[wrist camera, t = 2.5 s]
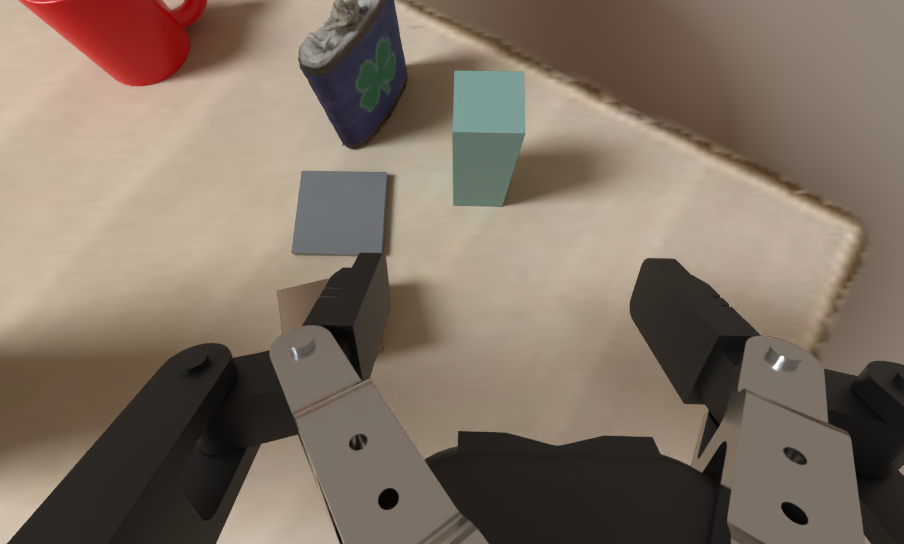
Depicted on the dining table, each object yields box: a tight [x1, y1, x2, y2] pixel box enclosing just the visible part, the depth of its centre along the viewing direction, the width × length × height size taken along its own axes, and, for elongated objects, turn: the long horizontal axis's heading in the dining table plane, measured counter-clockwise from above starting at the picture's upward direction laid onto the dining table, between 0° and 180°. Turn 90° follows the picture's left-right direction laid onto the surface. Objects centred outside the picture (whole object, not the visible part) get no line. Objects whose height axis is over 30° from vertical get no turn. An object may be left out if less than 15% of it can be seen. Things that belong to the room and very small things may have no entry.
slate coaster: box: [292, 171, 388, 256], centre depth 30 cm, size 7×7×1 cm
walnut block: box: [277, 278, 383, 352], centre depth 25 cm, size 5×5×5 cm
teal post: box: [453, 70, 525, 207], centre depth 25 cm, size 4×4×10 cm
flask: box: [298, 0, 407, 150], centre depth 27 cm, size 9×3×11 cm, turn 151°
